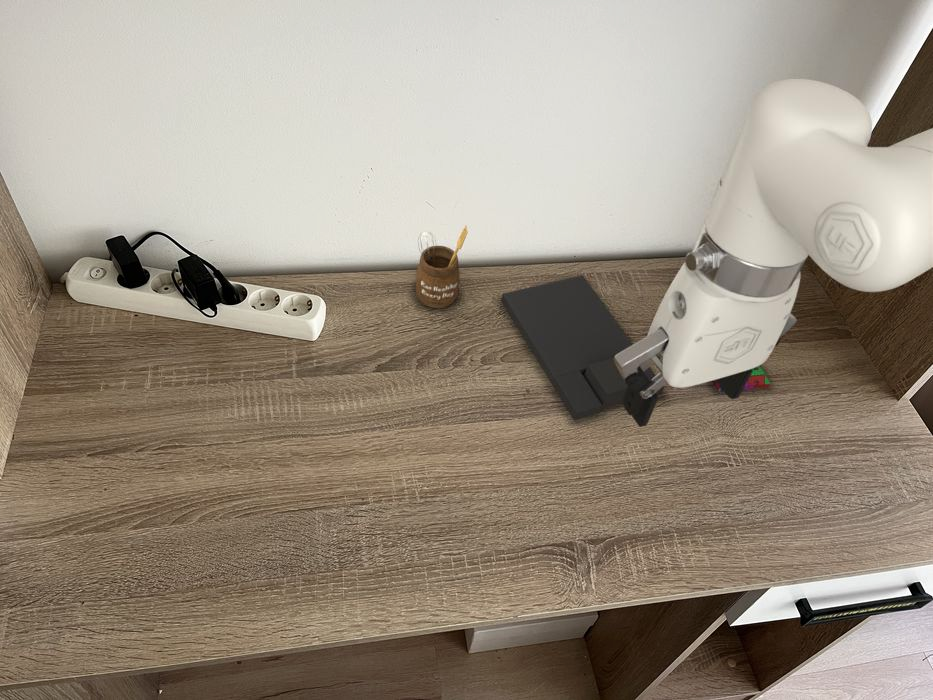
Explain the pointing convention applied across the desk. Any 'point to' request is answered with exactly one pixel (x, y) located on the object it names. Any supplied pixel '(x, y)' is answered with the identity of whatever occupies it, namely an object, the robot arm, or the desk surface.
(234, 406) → the desk surface
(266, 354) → the desk surface
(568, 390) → the big pad
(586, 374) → the small black box
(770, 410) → the desk surface
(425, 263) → the utensil holder
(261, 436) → the desk surface
